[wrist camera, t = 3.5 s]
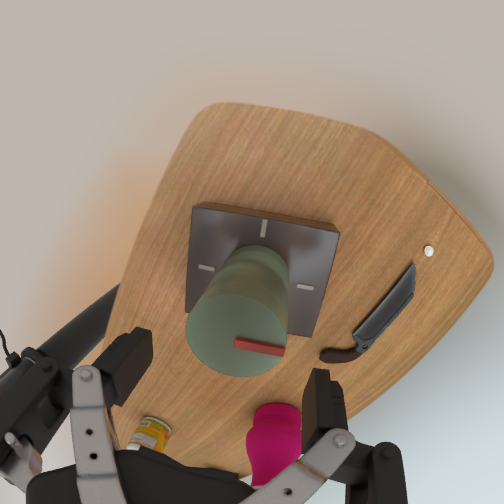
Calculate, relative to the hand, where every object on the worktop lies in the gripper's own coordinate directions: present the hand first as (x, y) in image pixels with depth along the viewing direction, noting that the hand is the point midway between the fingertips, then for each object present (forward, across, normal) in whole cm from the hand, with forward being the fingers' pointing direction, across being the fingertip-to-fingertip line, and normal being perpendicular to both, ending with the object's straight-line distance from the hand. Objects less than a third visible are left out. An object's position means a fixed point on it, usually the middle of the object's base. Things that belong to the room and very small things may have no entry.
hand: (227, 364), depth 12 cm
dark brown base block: (+14, 0, 0) cm, 14 cm away
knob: (+11, 0, 0) cm, 11 cm away
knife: (+14, -12, +4) cm, 19 cm away
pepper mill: (+14, -6, +21) cm, 26 cm away
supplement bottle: (+14, +12, +32) cm, 37 cm away
